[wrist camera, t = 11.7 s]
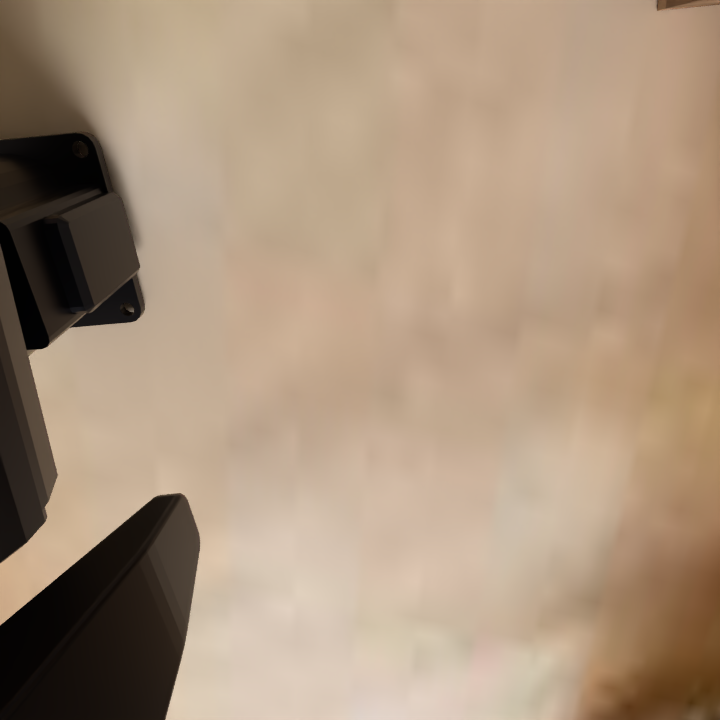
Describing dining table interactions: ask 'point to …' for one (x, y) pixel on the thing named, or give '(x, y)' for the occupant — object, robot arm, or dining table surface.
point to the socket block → (684, 3)
